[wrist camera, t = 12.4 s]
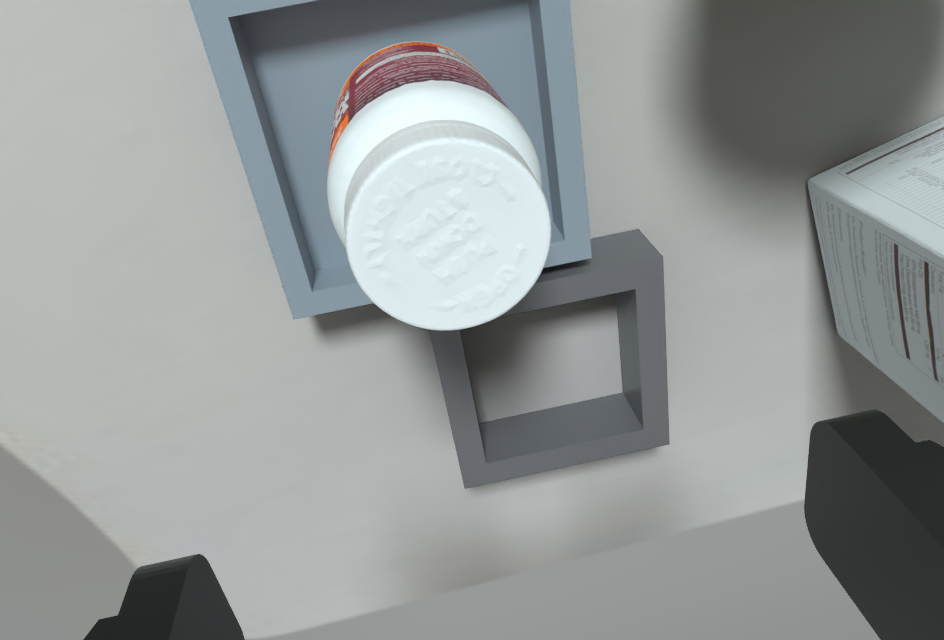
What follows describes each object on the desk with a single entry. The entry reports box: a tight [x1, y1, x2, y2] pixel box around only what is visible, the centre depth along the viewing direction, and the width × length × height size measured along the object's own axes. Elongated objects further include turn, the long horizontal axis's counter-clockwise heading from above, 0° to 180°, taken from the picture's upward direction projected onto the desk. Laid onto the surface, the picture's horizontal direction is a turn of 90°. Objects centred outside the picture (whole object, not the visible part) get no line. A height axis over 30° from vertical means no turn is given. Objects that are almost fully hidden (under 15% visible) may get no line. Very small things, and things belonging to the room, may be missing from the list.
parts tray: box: [189, 0, 592, 319], centre depth 27 cm, size 12×12×3 cm
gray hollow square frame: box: [430, 229, 669, 489], centre depth 33 cm, size 10×10×3 cm
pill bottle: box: [327, 41, 551, 331], centre depth 23 cm, size 6×6×11 cm
